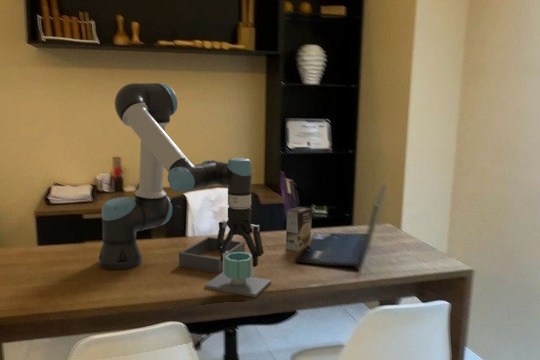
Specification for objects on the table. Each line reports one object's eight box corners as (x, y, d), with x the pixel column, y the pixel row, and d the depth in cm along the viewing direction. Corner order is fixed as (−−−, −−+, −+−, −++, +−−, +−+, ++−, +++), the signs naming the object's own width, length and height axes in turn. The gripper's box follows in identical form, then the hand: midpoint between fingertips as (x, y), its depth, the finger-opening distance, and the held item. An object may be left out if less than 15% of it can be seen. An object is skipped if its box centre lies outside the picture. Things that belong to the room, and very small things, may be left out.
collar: (220, 276, 172) (220, 258, 171) (232, 267, 180) (232, 250, 179) (245, 280, 169) (245, 262, 168) (256, 271, 177) (257, 254, 176)
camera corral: (179, 266, 192) (178, 253, 191) (208, 248, 212) (208, 236, 211) (218, 273, 186) (218, 259, 185) (244, 254, 206) (244, 242, 205)
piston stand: (204, 287, 173) (204, 268, 172) (223, 274, 185) (223, 256, 183) (255, 297, 166) (256, 277, 165) (271, 283, 178) (271, 264, 177)
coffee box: (298, 252, 210) (300, 212, 207) (285, 248, 214) (286, 210, 211) (310, 246, 217) (312, 208, 214) (297, 243, 221) (298, 206, 218)
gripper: (203, 205, 171) (204, 272, 175) (266, 212, 163) (265, 282, 167) (214, 200, 178) (214, 264, 182) (275, 207, 170) (273, 274, 174)
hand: (238, 273), depth 175 cm, fingers closed on collar, 9 cm apart
